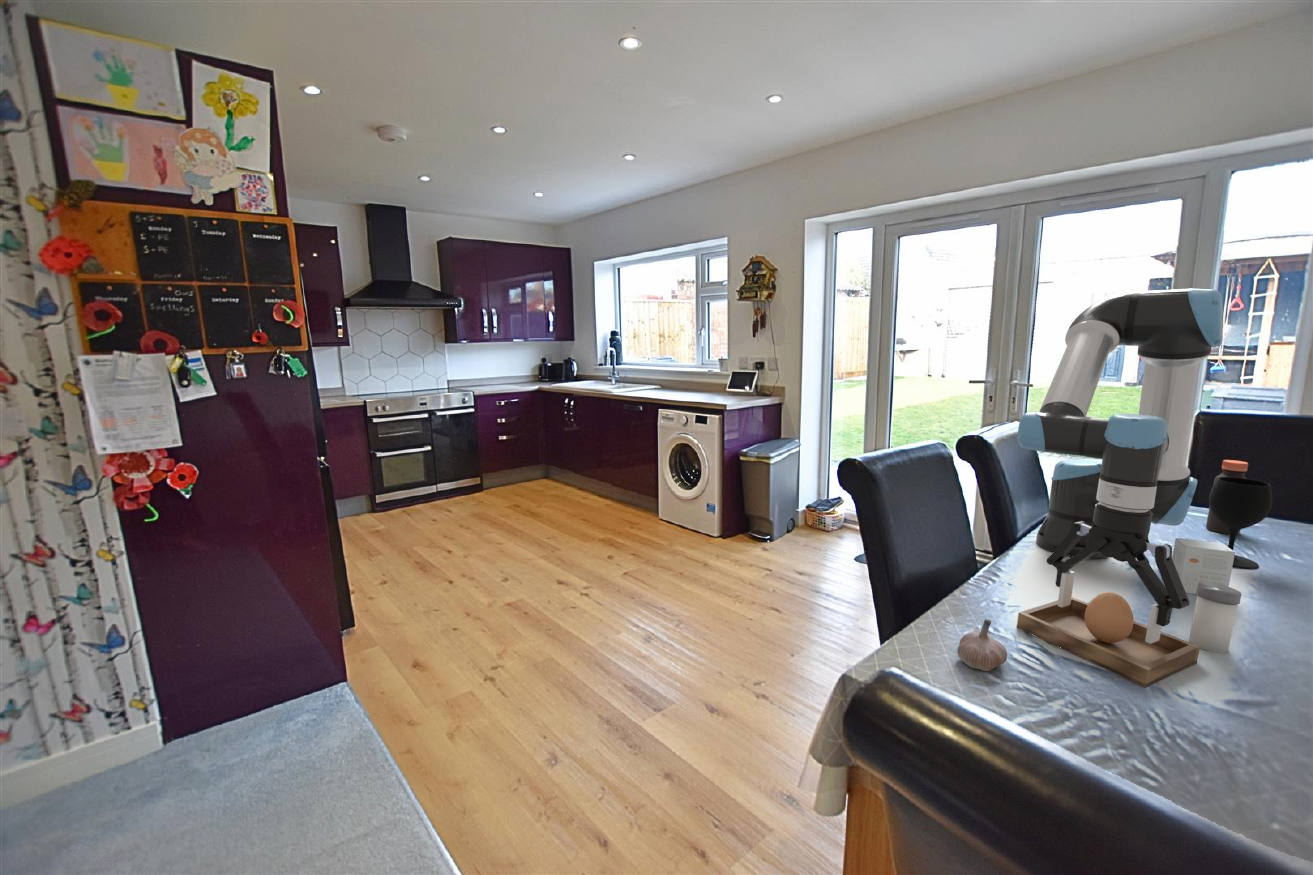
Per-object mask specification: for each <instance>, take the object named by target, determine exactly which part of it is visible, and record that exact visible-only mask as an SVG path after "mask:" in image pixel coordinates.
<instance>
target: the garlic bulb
mask: <svg viewBox="0 0 1313 875" xmlns="http://www.w3.org/2000/svg"><path fill="white" fill-rule="evenodd" d="M991 625H992V620H990V619H987V618H985V619H984V621H983V623H982V627H981V630H980V631H979V630H978V631H977V630H975V631H971V632H969V633H966V634H964V635H963V636H961V638H960V640H959V643H958V644H959V645H958V647H957V648H956V649H957V651H956V652H957V656H958V657H959V659H960V660H961V661H963V662H964V664H965V665H967V666H968V667H970V668H972V669H975V670H981V671H983V672H990V671H992V670H993V669H995V668H998V667H999V666H1001V665H1003V664H1004V663H1006V661H1007V659H1008V658H1007V657H1008V652H1007V649H1006V647H1005V646H1004V644H1002V643H1001V641H998V640H996V639H994V638H992V637H991V636H990V635H988V633H989V629H990V626H991Z"/></svg>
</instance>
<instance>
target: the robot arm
mask: <svg viewBox="0 0 1313 875" xmlns="http://www.w3.org/2000/svg"><path fill="white" fill-rule="evenodd" d="M1223 302H1224V301H1223V296H1222V294H1221V292H1220V291H1218V290H1217V289H1213V288H1212V289H1211V288H1210V289H1209V288H1208V289H1207V288H1206V289H1205V288H1204V289H1203V288H1181V289H1180V288H1177V289H1161V290H1146V291H1145V290H1144V291H1124V292H1119V293H1114V294H1112V295H1110V296H1109V295H1108V296H1107V297H1104V298H1102V299H1100V300H1098V301H1096V302H1095V303H1093V304H1091V305H1089V307H1087V308H1085V309H1084V310H1083V311H1082V312H1080V313H1079V315H1077V317H1075V319H1074V320H1073V321H1072V323H1071V324H1070V326H1069V327H1068V329H1067V331H1066V334H1065V337H1064V342H1065V344H1066V348H1065V350H1064V353H1063V355H1062V357H1061V360H1060V362H1059V365H1058V366H1057V369H1056V370H1055V373H1054V376H1053V378H1052V381H1051V383H1050V385H1049V388H1048V390H1047V393H1046V395H1045V397H1044V399H1043V401H1042V404H1041V407H1040V409H1039V411H1028V412H1027V411H1026V412H1024V414H1022V415H1021V418H1020V420H1019V424H1018V427H1017V428H1018V429H1017V442H1018V444H1019V446H1020V447H1021V448H1022V449H1026V450H1031V451H1036V452H1041V453H1052V454H1060V455H1068V456H1069V455H1070V456H1078V457H1085V458H1072V459H1071V458H1070V459H1064V460H1060V461H1058V462H1057V463H1055V465H1054V469H1053V473H1052V477H1051V486H1050V488H1051V489H1050V495H1049V501H1048V502H1049V503H1048V509H1047V510H1048V512H1047V515H1046V517H1045V518H1044V520H1043V522H1042V524H1041V526H1040V528H1039V529H1038V531H1037V533H1036V539H1035V543H1036V544H1037V545H1038V546H1039V547H1041V548H1043V549H1045V550H1047V551H1051V554H1050V556H1048V557H1047V558H1046V564H1048V565H1050V566H1051V565H1052V566H1053V567H1054V568H1055V569H1056V578H1055V587H1057V588H1059V592H1058V598H1057V600H1058V605H1057V606H1059V607H1061V608H1062V607H1065V606H1068V605H1070V604H1071V597H1073V588H1074V583H1075V574H1076V571H1073V570H1071V569H1073V568H1074V567H1076V566H1078V565H1079V564H1081V563H1083V562H1084V561H1086V560H1087V559H1088V560H1089V559H1103V558H1113V559H1114V560H1115V561H1118V562H1121V563H1124V562H1127V564H1128V565H1129V566H1130V568H1131V569H1134V571H1135V573H1136V574H1137V576H1138V577H1139V579H1140V581H1142V583H1143V584H1144V587H1146V588H1147V591H1148V592H1149V593H1150V595H1151V596H1152V598H1153V599H1154V601H1155V603H1153V604H1151V605H1150V611H1149V615H1148V621H1147V626H1148V627H1147V633H1146V639H1145V642H1147V643H1150V644H1151V643H1154V642H1156V641H1158V640H1159V639H1160V634H1161V632H1162V627H1167V626H1169V624H1170V623H1171V618H1172V613H1173V609H1177V610H1181V609H1184V608H1187V607H1189V606H1190V604H1191V603H1190V600H1189V597H1188V595H1187V593H1186V592H1185V590H1184V587H1183V585H1182V582H1181V580H1180V577H1179V575H1178V572H1177V570H1176V567H1175V565H1174V562H1173V560H1172V556H1173V547H1172V545H1171V544H1169V543H1165V544H1158V543H1154V542H1153V543H1152V542H1150V539H1149V534H1150V532H1151V531H1150V530H1151V525H1152V524H1154V525H1164V526H1171V527H1172V526H1173V527H1176V526H1179V525H1181V524H1182V523H1183V522H1185V519H1186V517H1187V514H1188V512H1189V510H1190V506H1191V503H1192V501H1193V499H1194V498H1193V497H1194V495H1195V492H1196V489H1197V486H1198V479H1196V478H1194V477H1192V476H1191V470H1190V468H1189V467H1188V466H1186V465H1185V464H1184V463H1183V462H1184V458H1185V457H1184V456H1185V450H1186V442H1187V436H1188V431H1189V426H1190V420H1191V419H1190V418H1191V415H1192V414H1191V412H1192V406H1193V400H1194V395H1195V389H1196V382H1197V375H1198V370H1199V363H1200V362H1201V361H1204V360H1205V359H1206V358H1208V357H1210V356H1211V352H1212V349H1213V348H1217V347H1221V346H1222V344H1223V338H1224V337H1223V336H1224V335H1223V334H1224V307H1223V306H1224V305H1223V304H1224V303H1223ZM1118 346H1128V347H1130V346H1131V347H1132V346H1133V347H1134V346H1135V347H1138V348H1137V356H1138V357H1139V358H1140V359H1142V360H1143V361H1144V362H1145V363H1144V370H1143V377H1142V378H1143V379H1142V385H1141V393H1140V400H1139V408H1138V413H1116V414H1113V415H1111V416H1110V417H1109V418H1107V417H1105V418H1104V417H1092V416H1088V412H1089V409H1090V406H1091V403H1092V401H1093V399H1094V398H1093V397H1094V395H1095V392H1096V390H1097V387H1098V384H1099V381H1100V379H1101V376H1102V373H1103V370H1104V368H1105V364H1106V362H1107V360H1108V357H1109V354H1110V353H1112V352H1114V351H1115V350H1116V348H1118ZM1147 551H1149V552H1150V554H1151V557H1152V558H1154V560H1155V564H1156V567H1157V569H1158V572H1159V576H1160V577H1161V579H1160V577H1159V576H1158V575H1157V573H1156V572H1155V570H1154V569H1153V567H1152V566H1151V564H1150V560H1149V559H1148V558H1147V556H1146V555H1145V553H1147ZM1066 556H1069V558H1067V559H1065V558H1066ZM1063 559H1065V560H1064V561H1063ZM1161 580H1162V581H1161Z"/></svg>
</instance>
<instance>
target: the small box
mask: <svg viewBox="0 0 1313 875" xmlns="http://www.w3.org/2000/svg"><path fill="white" fill-rule="evenodd" d="M1235 553H1236V552H1235V551H1234V549H1233V550H1231V549H1230V548H1229V547H1228V545H1225V544H1224V543H1223V542H1218V541H1217V542H1216V541H1207V540H1197V539H1191V538H1190V539H1188V538H1180V537H1175V539H1174V544H1173V549H1172V560H1173V562H1174V565H1175V567H1176V570H1177V572H1178V575H1179V577H1180V580H1181V582H1182V585H1183V587H1184V590H1185V592H1186V594H1191V595H1197V594H1196V592H1197V586H1198V583H1201V582H1208V583H1215V584H1220V585H1224V586H1228V587H1230V580H1231V577H1232V576H1231V575H1232V572H1233V570H1232V569H1233V567H1232V566H1233V561H1234V555H1236V554H1235Z"/></svg>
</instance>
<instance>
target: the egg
mask: <svg viewBox="0 0 1313 875" xmlns="http://www.w3.org/2000/svg"><path fill="white" fill-rule="evenodd" d="M1088 603H1089V604H1088V606H1087V608H1086V611H1085V617H1084V618H1085V624H1086V626H1087V628H1088V630H1089V632H1090V633H1091V634H1092V635H1093V636H1094V637H1095V638H1096V639H1098V640H1100V641H1102V642H1105V643H1117V642H1120V641H1122V640H1124V639H1125V638H1127V637H1128V636H1129V635H1130V633H1131V631H1132V629H1133V624H1134V621H1135V620H1134V614H1133V610H1132V608H1131V606H1130V604H1129V602H1128V601H1127V600H1126V599H1125V598H1124V597H1123V596H1122V595H1120V594H1118V593H1116V592H1110V591H1108V592H1102V593H1100V594H1097V595H1096V596H1095V597H1093V598H1092V600H1090V602H1088Z"/></svg>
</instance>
